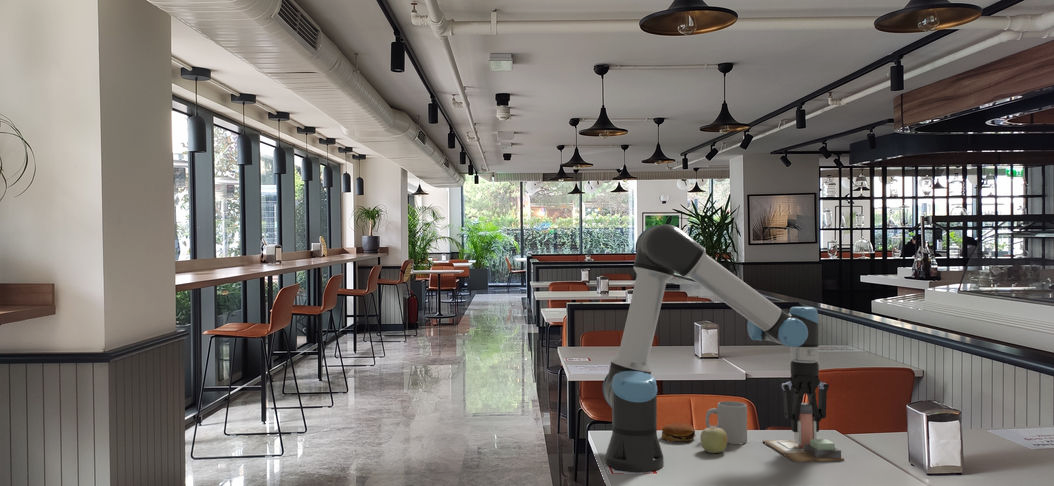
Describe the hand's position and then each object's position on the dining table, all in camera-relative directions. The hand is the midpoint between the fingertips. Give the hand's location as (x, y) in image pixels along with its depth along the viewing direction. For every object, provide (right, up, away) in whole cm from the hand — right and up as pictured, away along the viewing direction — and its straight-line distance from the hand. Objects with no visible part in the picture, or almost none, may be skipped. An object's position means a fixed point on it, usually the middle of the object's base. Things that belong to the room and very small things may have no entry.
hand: (805, 443), depth 201 cm
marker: (0, -1, 0) cm, 1 cm away
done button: (+2, +1, -8) cm, 8 cm away
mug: (-20, -2, +9) cm, 22 cm away
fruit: (-27, -2, -3) cm, 27 cm away
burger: (-34, -2, +11) cm, 36 cm away
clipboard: (-2, -2, -2) cm, 3 cm away
